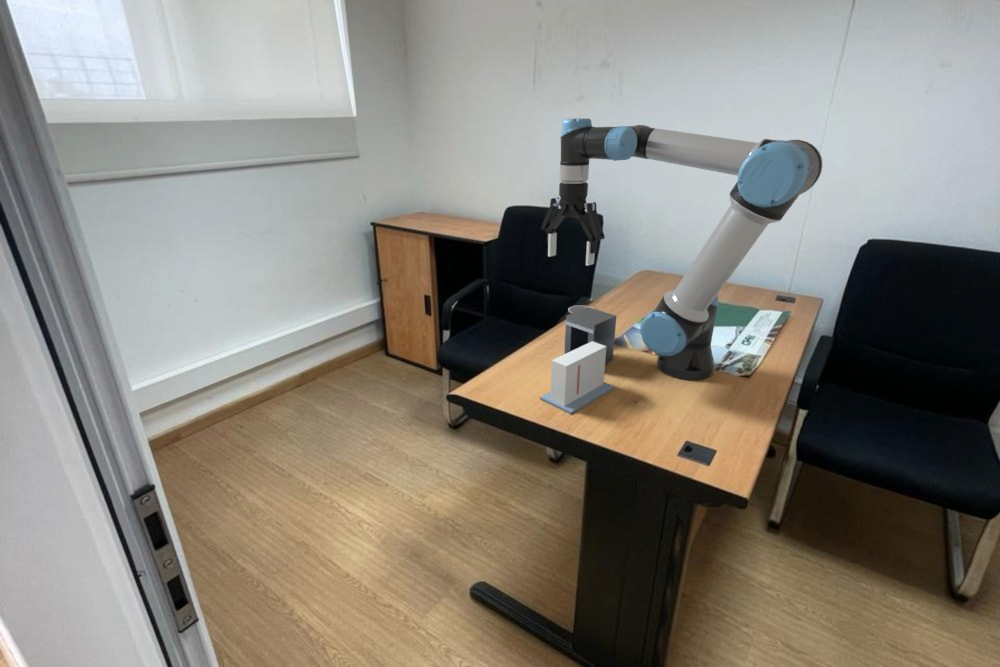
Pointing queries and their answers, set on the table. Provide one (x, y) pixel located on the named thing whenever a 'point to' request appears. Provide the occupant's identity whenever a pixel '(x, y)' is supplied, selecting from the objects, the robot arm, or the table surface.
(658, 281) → the table surface
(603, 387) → the mat
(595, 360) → the white block
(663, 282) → the table surface
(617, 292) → the table surface
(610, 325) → the dispenser
